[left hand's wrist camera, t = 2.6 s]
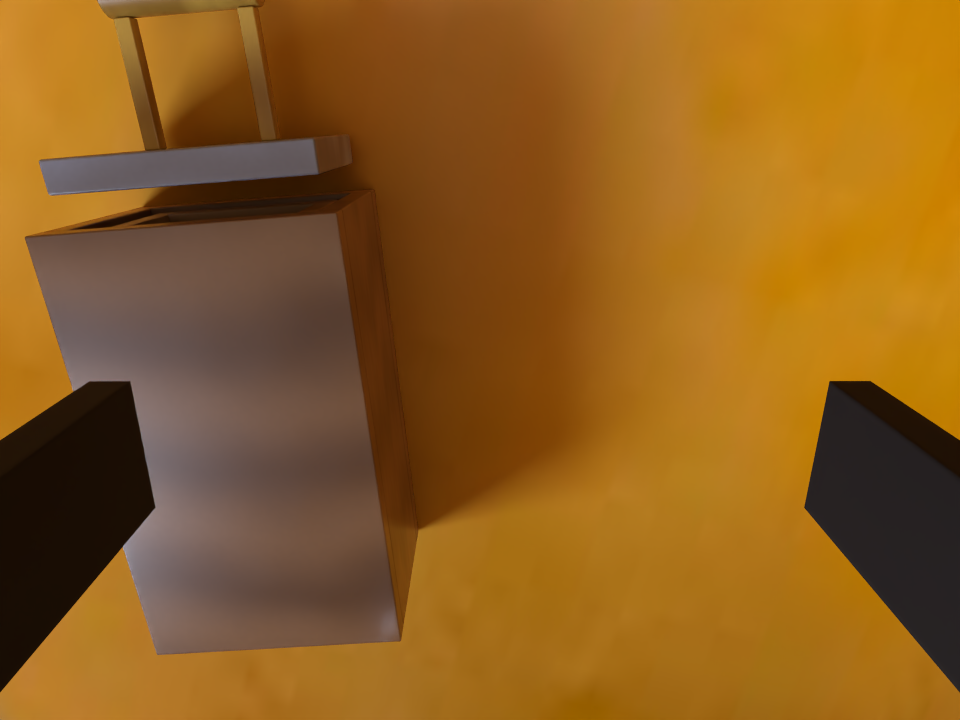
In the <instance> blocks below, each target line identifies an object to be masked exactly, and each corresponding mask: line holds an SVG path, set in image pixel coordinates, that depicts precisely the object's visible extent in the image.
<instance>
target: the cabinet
mask: <svg viewBox="0 0 960 720" xmlns="http://www.w3.org/2000/svg"><path fill="white" fill-rule="evenodd" d="M323 200H338V201H336V202H334V203H332V204H330V205H328V206H327V207H325V208H323V209H321V210H319V211H312V212H300V213H287V214H274V215H261V216H248V217H235V218H222V219H210V220H197V221H184V222H171V223H158V224H145V225H132V226H119V227H113V226H116V225H120V224H123V223H127V222H130V221H134V220H137V219H141V218H144V217H148V216H152V215H155V214H159V213H170V212H183V211H195V210H208V209H221V208H234V207H247V206H259V205H272V204H285V203H298V202H311V201H323ZM25 240H26V243H27V246H28V249H29V252H30V256H31V259H32V262H33V265H34V268H35V271H36V275H37V278H38V281H39V284H40V287H41V290H42V293H43V297H44V300H45V303H46V306H47V309H48V312H49V315H50V319H51V322H52V325H53V328H54V331H55V334H56V338H57V341H58V344H59V347H60V350H61V353H62V356H63V360H64V363H65V366H66V369H67V372H68V375H69V379H70V382H71V385H72V388H73V391H76V390H77V389H79V388H80V387H82V386H83V385H85V384H86V383H88V382H89V381H130V382H131V387H132V392H133V397H134V402H135V407H136V412H137V417H138V422H139V427H140V432H141V437H142V442H143V447H144V452H145V457H146V462H147V467H148V472H149V477H150V482H151V487H152V492H153V497H154V502H155V507H156V508H155V509H154V510H153V511H152V513H151V514H150V515H149V516H148V517H147V518H146V520H145V521H144V522H143V523H142V524H141V526H140V527H139V528H138V529H137V530H136V532H135V533H134V534H133V535H132V536H131V537H130V539H129V540H128V541H127V542H126V543H125V545H124V546H123V549H124V552H125V555H126V558H127V561H128V564H129V568H130V571H131V574H132V577H133V580H134V583H135V586H136V590H137V593H138V596H139V599H140V602H141V605H142V608H143V612H144V615H145V618H146V621H147V624H148V627H149V631H150V634H151V637H152V640H153V643H154V646H155V649H156V653H157V655H165V654H182V653H200V652H217V651H235V650H252V649H270V648H287V647H304V646H322V645H339V644H357V643H374V642H392V641H401V637H402V631H403V624H404V617H405V611H406V605H407V598H408V592H409V586H410V579H411V573H412V567H413V560H414V554H415V548H416V541H417V535H418V525H417V518H416V510H415V502H414V494H413V487H412V479H411V471H410V463H409V456H408V448H407V440H406V432H405V424H404V417H403V409H402V401H401V393H400V386H399V378H398V370H397V362H396V355H395V347H394V339H393V331H392V324H391V316H390V308H389V300H388V292H387V285H386V277H385V269H384V261H383V254H382V246H381V238H380V230H379V223H378V215H377V207H376V199H375V192H374V189H369V190H356V191H343V192H331V193H318V194H305V195H292V196H280V197H267V198H254V199H241V200H229V201H216V202H203V203H190V204H178V205H165V206H152V207H141V208H137V209H133V210H129V211H125V212H121V213H117V214H113V215H109V216H106V217H102V218H98V219H94V220H90V221H86V222H82V223H78V224H74V225H70V226H66V227H62V228H58V229H54V230H50V231H46V232H42V233H38V234H34V235H30V236H26V237H25Z"/></svg>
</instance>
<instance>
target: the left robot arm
mask: <svg viewBox="0 0 960 720" xmlns="http://www.w3.org/2000/svg"><path fill="white" fill-rule="evenodd" d="M155 508H156V507H155V502H154V497H153V492H152V487H151V482H150V477H149V472H148V467H147V462H146V457H145V452H144V447H143V442H142V437H141V432H140V427H139V422H138V417H137V412H136V407H135V402H134V397H133V392H132V387H131V382H130V381H89V382H88V383H86V384H85V385H83V386H82V387H80V388H79V389H77V390H76V391H74V392H72V393H71V394H69V395H68V396H66V397H65V398H63V399H62V400H60V401H59V402H57V403H56V404H54V405H53V406H51V407H50V408H48V409H47V410H45V411H44V412H42V413H41V414H39V415H38V416H36V417H35V418H33V419H32V420H30V421H29V422H27V423H26V424H24V425H23V426H21V427H20V428H18V429H17V430H15V431H14V432H12V433H11V434H9V435H8V436H6V437H5V438H3V439H2V440H0V692H1V691H2V690H3V688H4V687H5V686H6V685H7V684H8V682H9V681H10V680H11V679H12V678H13V677H14V675H15V674H16V673H17V672H18V671H19V669H20V668H21V667H22V666H23V665H24V663H25V662H26V661H27V660H28V659H29V657H30V656H31V655H32V654H33V653H34V652H35V650H36V649H37V648H38V647H39V646H40V644H41V643H42V642H43V641H44V640H45V638H46V637H47V636H48V635H49V634H50V633H51V631H52V630H53V629H54V628H55V627H56V625H57V624H58V623H59V622H60V621H61V619H62V618H63V617H64V616H65V615H66V614H67V612H68V611H69V610H70V609H71V608H72V606H73V605H74V604H75V603H76V602H77V600H78V599H79V598H80V597H81V596H82V595H83V593H84V592H85V591H86V590H87V589H88V587H89V586H90V585H91V584H92V583H93V581H94V580H95V579H96V578H97V577H98V575H99V574H100V573H101V572H102V571H103V570H104V568H105V567H106V566H107V565H108V564H109V562H110V561H111V560H112V559H113V558H114V556H115V555H116V554H117V553H118V552H119V551H120V549H121V548H122V547H123V546H124V545H125V543H126V542H127V541H128V540H129V539H130V537H131V536H132V535H133V534H134V533H135V532H136V530H137V529H138V528H139V527H140V526H141V524H142V523H143V522H144V521H145V520H146V518H147V517H148V516H149V515H150V514H151V513H152V511H153V510H154V509H155ZM804 508H805V509H806V510H807V511H808V513H809V514H810V515H811V516H812V517H813V518H814V520H815V521H816V522H817V523H818V524H819V526H820V527H821V528H822V529H823V530H824V532H825V533H826V534H827V535H828V536H829V537H830V539H831V540H832V541H833V542H834V543H835V545H836V546H837V547H838V548H839V549H840V551H841V552H842V553H843V554H844V555H845V556H846V558H847V559H848V560H849V561H850V562H851V564H852V565H853V566H854V567H855V568H856V570H857V571H858V572H859V573H860V574H861V575H862V577H863V578H864V579H865V580H866V581H867V583H868V584H869V585H870V586H871V587H872V589H873V590H874V591H875V592H876V593H877V595H878V596H879V597H880V598H881V599H882V600H883V602H884V603H885V604H886V605H887V606H888V608H889V609H890V610H891V611H892V612H893V614H894V615H895V616H896V617H897V618H898V619H899V621H900V622H901V623H902V624H903V625H904V627H905V628H906V629H907V630H908V631H909V633H910V634H911V635H912V636H913V637H914V638H915V640H916V641H917V642H918V643H919V644H920V646H921V647H922V648H923V649H924V650H925V652H926V653H927V654H928V655H929V656H930V657H931V659H932V660H933V661H934V662H935V663H936V665H937V666H938V667H939V668H940V669H941V671H942V672H943V673H944V674H945V675H946V677H947V678H948V679H949V680H950V681H951V682H952V684H953V685H954V686H955V687H956V688H957V690H958V691H959V692H960V440H958V439H957V438H955V437H954V436H952V435H951V434H949V433H948V432H946V431H945V430H943V429H942V428H940V427H939V426H937V425H936V424H934V423H933V422H931V421H930V420H928V419H927V418H925V417H924V416H922V415H921V414H919V413H918V412H916V411H915V410H913V409H912V408H910V407H909V406H907V405H906V404H904V403H903V402H901V401H900V400H898V399H897V398H895V397H894V396H892V395H891V394H889V393H888V392H886V391H884V390H883V389H881V388H880V387H878V386H877V385H875V384H874V383H872V382H871V381H830V382H829V387H828V392H827V397H826V402H825V407H824V412H823V417H822V422H821V427H820V432H819V437H818V442H817V447H816V452H815V457H814V462H813V467H812V472H811V477H810V482H809V487H808V492H807V497H806V502H805V507H804Z"/></svg>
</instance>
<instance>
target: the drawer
mask: <svg viewBox="0 0 960 720" xmlns="http://www.w3.org/2000/svg"><path fill="white" fill-rule="evenodd" d="M97 1H98V3H99V5H100V7H101V9H102V10H103V11H104V13H105V14H106V15H107V16H108V17H110V18H112V19H114V23H115V27H116V31H117V35H118V39H119V43H120V47H121V51H122V56H123V60H124V64H125V68H126V72H127V76H128V80H129V84H130V89H131V93H132V97H133V101H134V105H135V109H136V113H137V118H138V122H139V126H140V130H141V134H142V138H143V142H144V146H145V150H146V151H134V152H122V153H111V154H99V155H88V156H76V157H65V158H53V159H41V160H40V161H39V164H40V167H41V171H42V174H43V177H44V181H45V184H46V187H47V191H48V194H49V195H52V196H53V195H65V194H78V193H91V192H103V191H116V190H128V189H141V188H154V187H166V186H179V185H191V184H204V183H217V182H229V181H242V180H254V179H267V178H280V177H292V176H305V175H317V174H321V173H324V172H327V171H330V170H333V169H336V168H339V167H343V166H346V165H349V164H351V163H352V162H353V160H352V153H351V146H350V138H349V135H348V134H343V135H331V136H319V137H306V138H294V139H282V140H280V133H279V127H278V121H277V115H276V110H275V104H274V98H273V92H272V86H271V81H270V75H269V69H268V63H267V57H266V52H265V46H264V40H263V34H262V28H261V23H260V17H259V11H258V9H257V8H255V7H261V6H263V4H264V0H97ZM232 9H237V10H238V15H239V21H240V26H241V32H242V37H243V43H244V48H245V54H246V59H247V65H248V70H249V76H250V81H251V86H252V92H253V97H254V103H255V108H256V114H257V119H258V125H259V130H260V136H261V140H262V141H257V142H245V143H233V144H220V145H208V146H196V147H183V148H171V149H166V148H167V147H166V143H165V139H164V134H163V130H162V126H161V121H160V117H159V113H158V108H157V104H156V100H155V95H154V91H153V87H152V82H151V78H150V74H149V69H148V65H147V61H146V56H145V52H144V48H143V43H142V39H141V35H140V30H139V26H138V22H137V19H134V18H141V17H152V16H164V15H175V14H187V13H198V12H209V11H221V10H232ZM336 201H338V200H323V201H311V202H298V203H285V204H272V205H259V206H247V207H234V208H221V209H208V210H195V211H183V212H170V213H159V214H155V215H152V216H148V217H144V218H141V219H137V220H134V221H130V222H127V223H123V224H120V225H116V226H113V227H119V226H132V225H145V224H158V223H171V222H184V221H197V220H210V219H222V218H235V217H248V216H261V215H274V214H287V213H300V212H312V211H319V210H321V209H323V208H325V207H327V206H328V205H330V204H332V203H334V202H336Z"/></svg>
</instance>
